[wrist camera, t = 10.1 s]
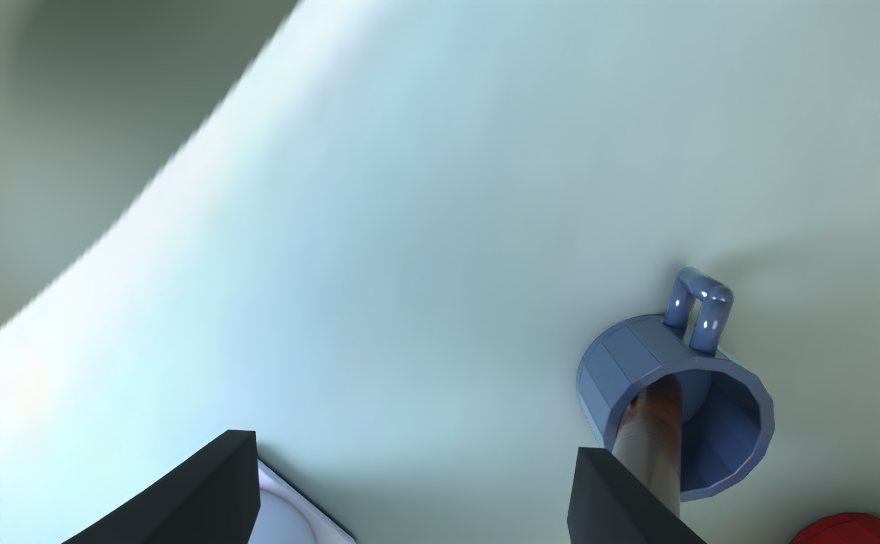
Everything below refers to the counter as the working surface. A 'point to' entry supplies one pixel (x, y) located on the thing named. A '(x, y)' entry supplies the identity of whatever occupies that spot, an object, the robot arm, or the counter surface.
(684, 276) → the coffee cup
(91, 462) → the counter surface
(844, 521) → the plastic cup
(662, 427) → the stirrer
